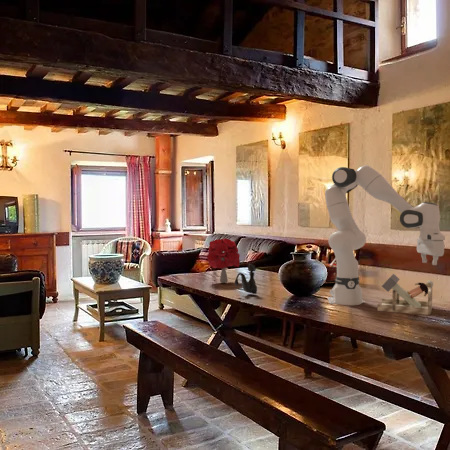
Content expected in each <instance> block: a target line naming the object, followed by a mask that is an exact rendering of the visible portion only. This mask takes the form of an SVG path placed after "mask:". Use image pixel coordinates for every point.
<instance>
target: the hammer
mask: <svg viewBox="0 0 450 450" xmlns="http://www.w3.org/2000/svg"><path fill="white" fill-rule="evenodd" d="M399 281H400V278H399V277H398V276H397V275H396V274H395V273H392V275H391V276H390V277H389V278H388V279H387V280H386V281H385V282H384V283H383V284H382V285H381V287H382V288H383V289H384V290H385V291H386V292H387V293H389V292H390V291H391V290H392V291H393V290H396V293H398V294H399V297H401V298H402V300H406V301H407V302H408V303H409V304H410V305H411V306H412V307H421V304H420V303H419V302H418V301H419V300H417V299H415V297H413V299H412V298H411V297H410V295H411V294H410V295H409V294H408V293H407V290H405V288H403V287H401V285H400V284H398V282H399Z"/></svg>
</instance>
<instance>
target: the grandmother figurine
mask: <svg viewBox="0 0 450 450" xmlns="http://www.w3.org/2000/svg"><path fill="white" fill-rule="evenodd" d="M414 285H415V286H416V287H414V288H411V289H410V290H409V291H408V290H406V292H407V293H408V294H409V295H410V297H411V298H412V299H413V298H416V297H418V296H419V295H421V294H423V293H424V294H423V296H424V297H426V296H428V290H429V287H432V288H433V287H434V281H433V280H427V281H426V283H425V282H417V283H416V282H415V283H414Z"/></svg>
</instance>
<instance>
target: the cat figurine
mask: <svg viewBox="0 0 450 450" xmlns="http://www.w3.org/2000/svg"><path fill="white" fill-rule="evenodd" d="M246 263H247V270H248V275H249V280H248V281H247V278H246V275H245V274H244V273H243V272H239V273H237V276H236V278H235V279H234V280H235V281H234V285H235V286H238V285H239V276H240V279H241V286H242V290H243V291H244V292H246V293H247V294H253V295H256V294H258V285H257V283H256V279H255V272H256V270H257V268H256V265H254V264H253V263H252V262H251V263H249V262H246Z"/></svg>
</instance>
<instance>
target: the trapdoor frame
mask: <svg viewBox="0 0 450 450" xmlns="http://www.w3.org/2000/svg"><path fill="white" fill-rule="evenodd" d="M417 301H418V302H419V303H420V304H421V307H412V306H411V305H410V304H409V303H408V302H407V301H406V300H404V299H400V295H399V294H398V293H396V290H393V289H392V298H381V304H377V312H378V311H379V312H387V313H402V314H414V315H423V316H425V315H426V316H427V315H428V316H431V314H432V311H433V287H428V294H427V300H425V301H423V300H417Z"/></svg>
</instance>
